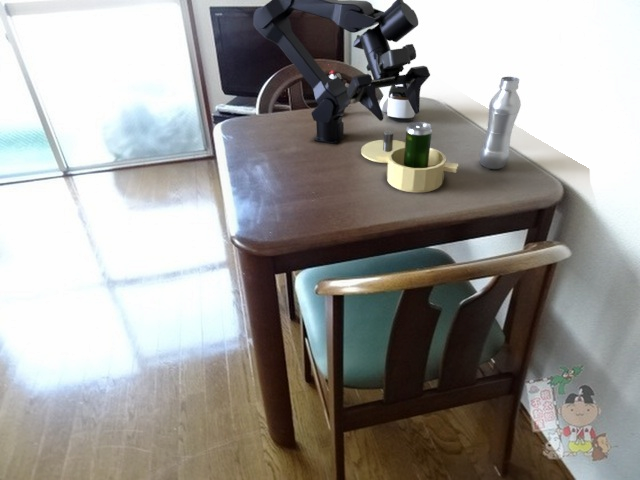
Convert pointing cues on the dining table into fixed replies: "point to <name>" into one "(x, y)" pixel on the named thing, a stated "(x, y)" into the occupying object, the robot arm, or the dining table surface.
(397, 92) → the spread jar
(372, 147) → the pot lid
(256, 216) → the dining table surface
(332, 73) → the sundae
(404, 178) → the pot
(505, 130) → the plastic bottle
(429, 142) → the beer can
